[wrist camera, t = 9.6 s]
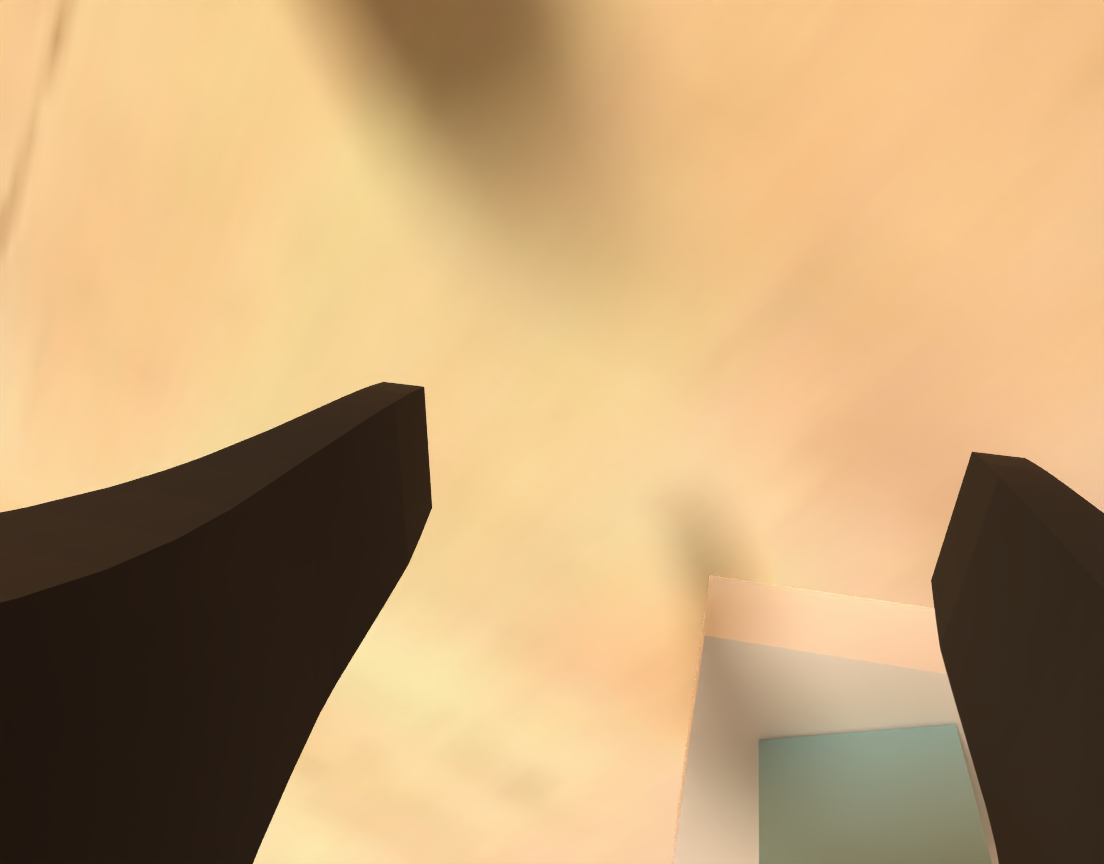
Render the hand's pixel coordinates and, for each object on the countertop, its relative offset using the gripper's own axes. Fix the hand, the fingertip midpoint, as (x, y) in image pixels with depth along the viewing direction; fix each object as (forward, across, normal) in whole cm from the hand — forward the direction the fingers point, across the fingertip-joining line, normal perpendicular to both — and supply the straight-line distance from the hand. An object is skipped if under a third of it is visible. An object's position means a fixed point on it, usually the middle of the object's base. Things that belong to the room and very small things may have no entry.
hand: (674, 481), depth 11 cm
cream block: (+10, -6, +14) cm, 18 cm away
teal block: (+7, -6, +14) cm, 17 cm away
